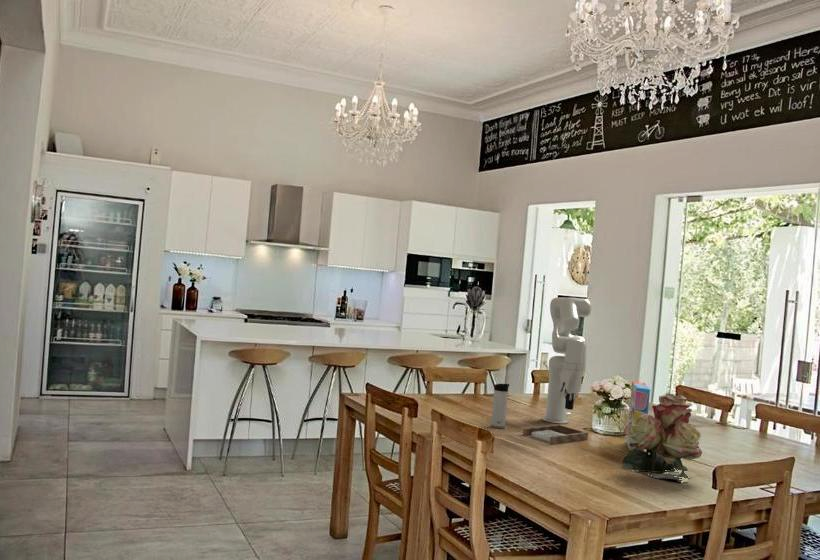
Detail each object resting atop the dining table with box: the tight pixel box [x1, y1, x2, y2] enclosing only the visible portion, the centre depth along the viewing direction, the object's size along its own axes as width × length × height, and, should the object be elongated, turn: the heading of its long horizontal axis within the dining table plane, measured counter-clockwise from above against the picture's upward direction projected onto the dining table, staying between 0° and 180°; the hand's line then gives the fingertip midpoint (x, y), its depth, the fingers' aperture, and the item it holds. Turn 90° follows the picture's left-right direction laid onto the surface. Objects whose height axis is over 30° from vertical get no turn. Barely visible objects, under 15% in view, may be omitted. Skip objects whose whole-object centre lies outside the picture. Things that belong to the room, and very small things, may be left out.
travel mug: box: [490, 383, 510, 429], centre depth 333 cm, size 6×7×20 cm
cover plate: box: [531, 430, 565, 442], centre depth 318 cm, size 12×10×2 cm
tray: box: [522, 424, 589, 445], centre depth 321 cm, size 24×16×4 cm, turn 131°
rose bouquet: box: [621, 392, 703, 483], centre depth 279 cm, size 26×29×30 cm
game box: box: [625, 381, 651, 453], centre depth 316 cm, size 21×6×27 cm, turn 168°
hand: (568, 408), depth 325 cm, fingers closed
